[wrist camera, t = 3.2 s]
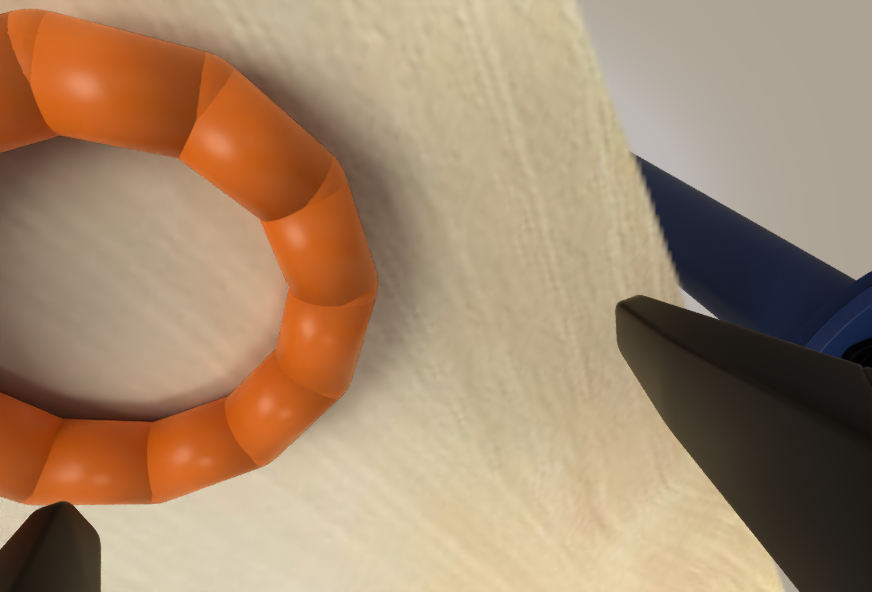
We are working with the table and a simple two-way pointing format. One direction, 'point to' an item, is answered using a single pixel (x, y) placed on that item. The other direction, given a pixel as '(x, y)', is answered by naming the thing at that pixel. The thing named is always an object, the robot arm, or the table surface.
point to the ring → (246, 184)
